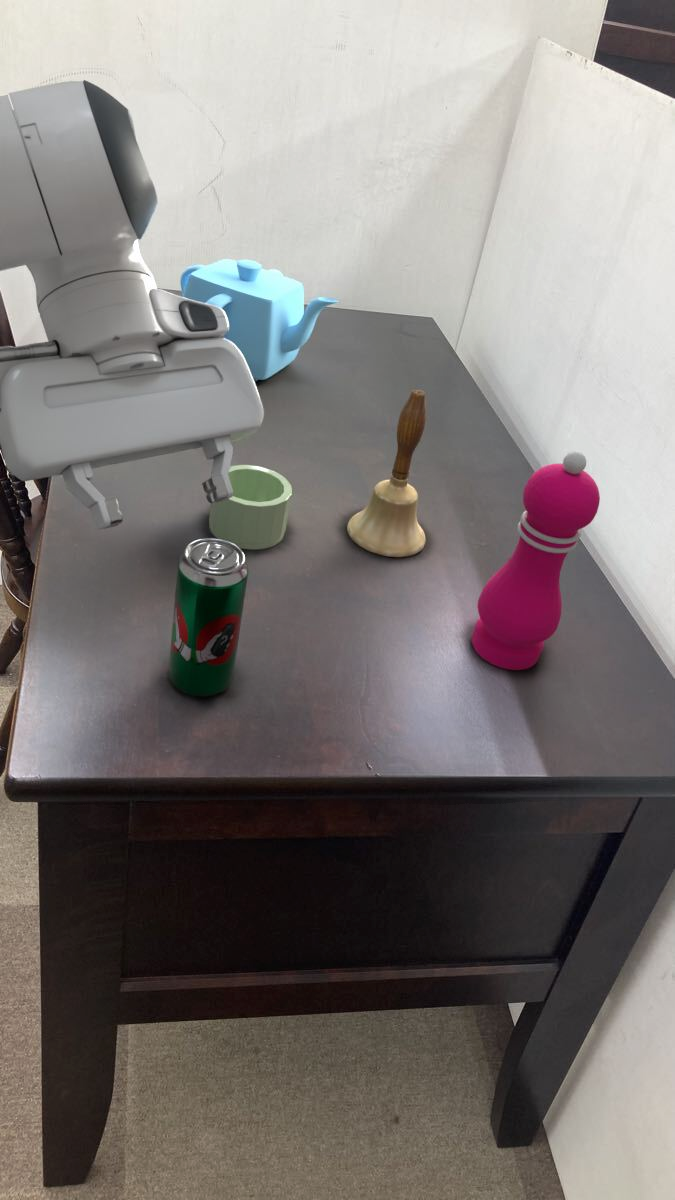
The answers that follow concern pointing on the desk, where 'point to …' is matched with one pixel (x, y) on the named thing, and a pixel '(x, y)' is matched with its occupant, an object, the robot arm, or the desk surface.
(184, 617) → the soda can
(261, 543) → the socket
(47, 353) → the robot arm
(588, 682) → the desk surface
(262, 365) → the teapot
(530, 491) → the pepper mill
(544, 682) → the desk surface
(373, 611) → the desk surface
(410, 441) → the hand bell
